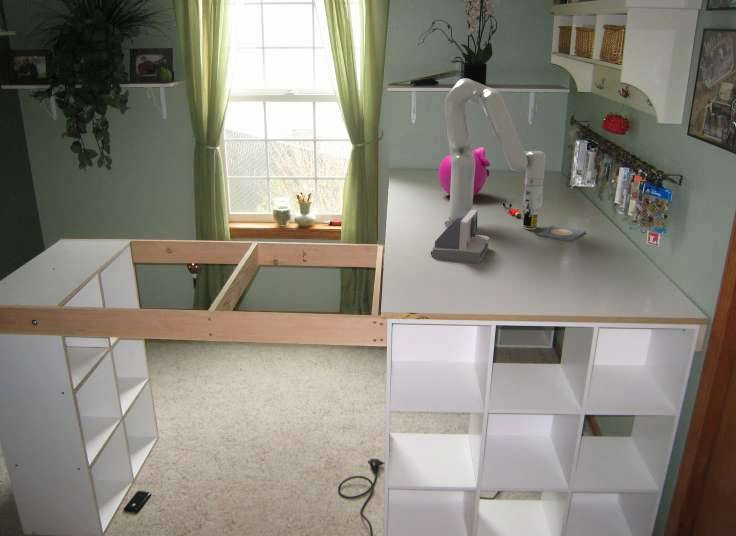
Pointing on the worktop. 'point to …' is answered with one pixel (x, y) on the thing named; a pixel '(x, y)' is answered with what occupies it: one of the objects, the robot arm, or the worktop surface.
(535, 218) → the supplement bottle
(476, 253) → the grey angle bracket
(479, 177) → the figurine
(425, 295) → the worktop surface
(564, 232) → the card
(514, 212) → the person figure
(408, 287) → the worktop surface
